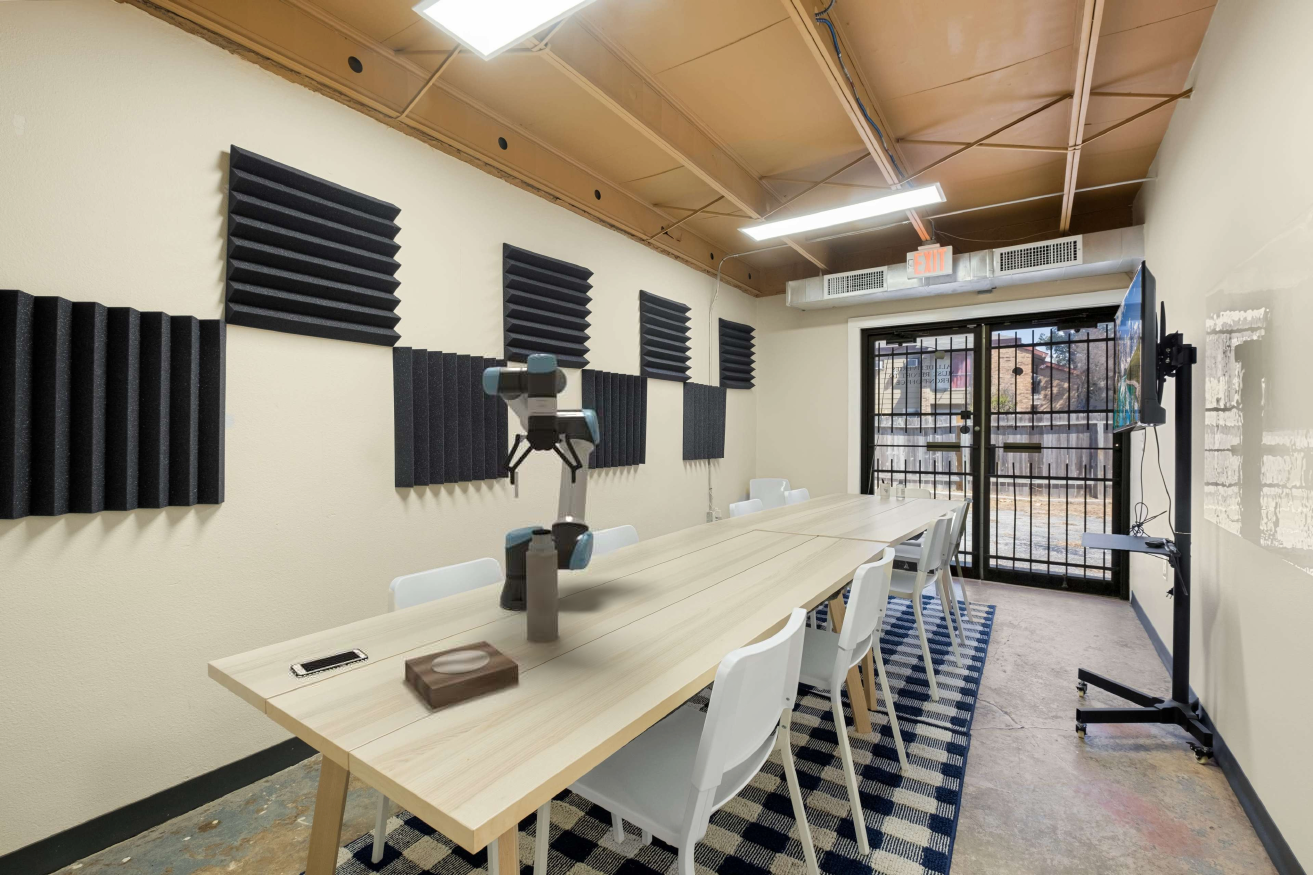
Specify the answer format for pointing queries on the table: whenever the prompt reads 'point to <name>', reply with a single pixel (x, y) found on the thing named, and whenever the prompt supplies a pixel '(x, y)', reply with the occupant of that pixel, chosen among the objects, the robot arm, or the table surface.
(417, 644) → the table surface
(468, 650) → the walnut riser
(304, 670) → the cell phone
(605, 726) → the table surface
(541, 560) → the thermos bottle
